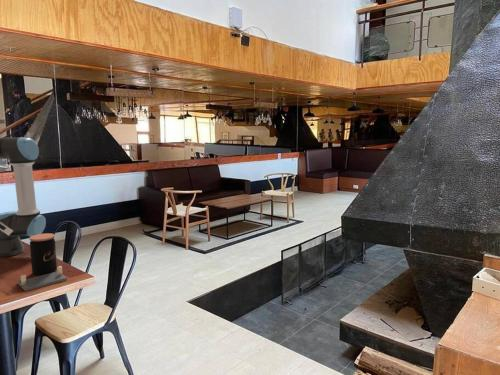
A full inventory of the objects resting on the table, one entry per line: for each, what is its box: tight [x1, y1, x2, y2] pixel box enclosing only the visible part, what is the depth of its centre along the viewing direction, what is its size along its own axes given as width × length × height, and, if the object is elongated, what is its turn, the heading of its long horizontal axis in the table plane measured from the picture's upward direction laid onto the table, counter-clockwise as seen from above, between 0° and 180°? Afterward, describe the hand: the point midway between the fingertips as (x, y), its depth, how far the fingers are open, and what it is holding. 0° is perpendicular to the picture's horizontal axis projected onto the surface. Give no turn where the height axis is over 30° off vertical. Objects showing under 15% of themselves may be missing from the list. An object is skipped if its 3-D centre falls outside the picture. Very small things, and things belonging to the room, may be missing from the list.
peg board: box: [17, 265, 68, 292], centre depth 165 cm, size 17×11×5 cm, turn 137°
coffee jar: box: [28, 232, 58, 276], centre depth 176 cm, size 11×11×18 cm
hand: (7, 230), depth 168 cm, fingers open, 13 cm apart
